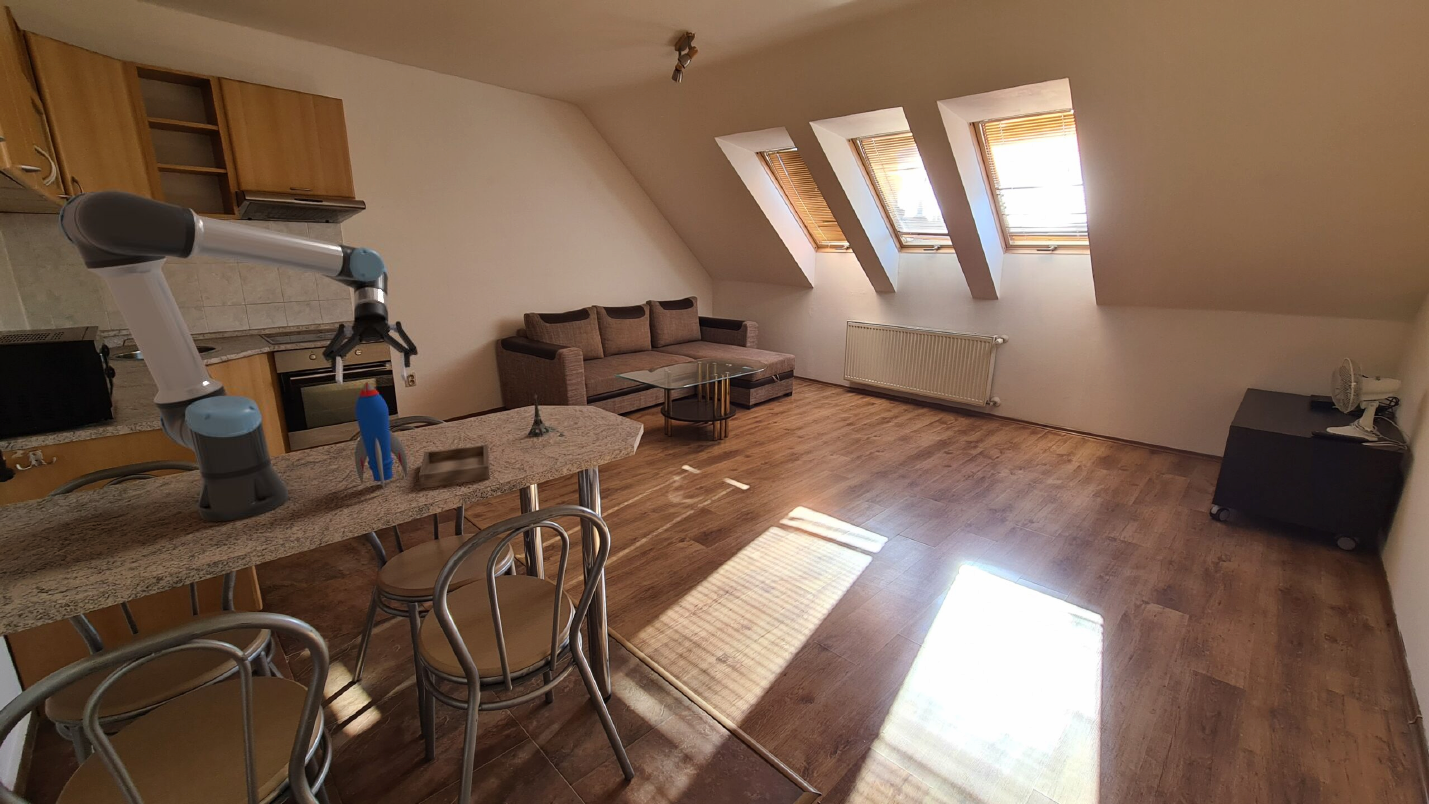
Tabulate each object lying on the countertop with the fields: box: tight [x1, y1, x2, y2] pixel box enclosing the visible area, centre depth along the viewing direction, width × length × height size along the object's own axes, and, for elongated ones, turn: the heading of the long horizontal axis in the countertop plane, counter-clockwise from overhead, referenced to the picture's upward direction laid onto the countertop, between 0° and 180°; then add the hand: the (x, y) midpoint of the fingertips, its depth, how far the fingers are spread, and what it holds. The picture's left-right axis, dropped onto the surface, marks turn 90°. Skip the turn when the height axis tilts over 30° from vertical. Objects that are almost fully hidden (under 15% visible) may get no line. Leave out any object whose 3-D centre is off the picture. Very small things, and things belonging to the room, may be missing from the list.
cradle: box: [418, 443, 491, 489], centre depth 144 cm, size 15×16×3 cm
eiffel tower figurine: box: [516, 394, 566, 438], centre depth 170 cm, size 15×10×13 cm
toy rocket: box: [354, 381, 408, 494], centre depth 133 cm, size 11×10×25 cm
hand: (371, 380), depth 140 cm, fingers open, 13 cm apart
